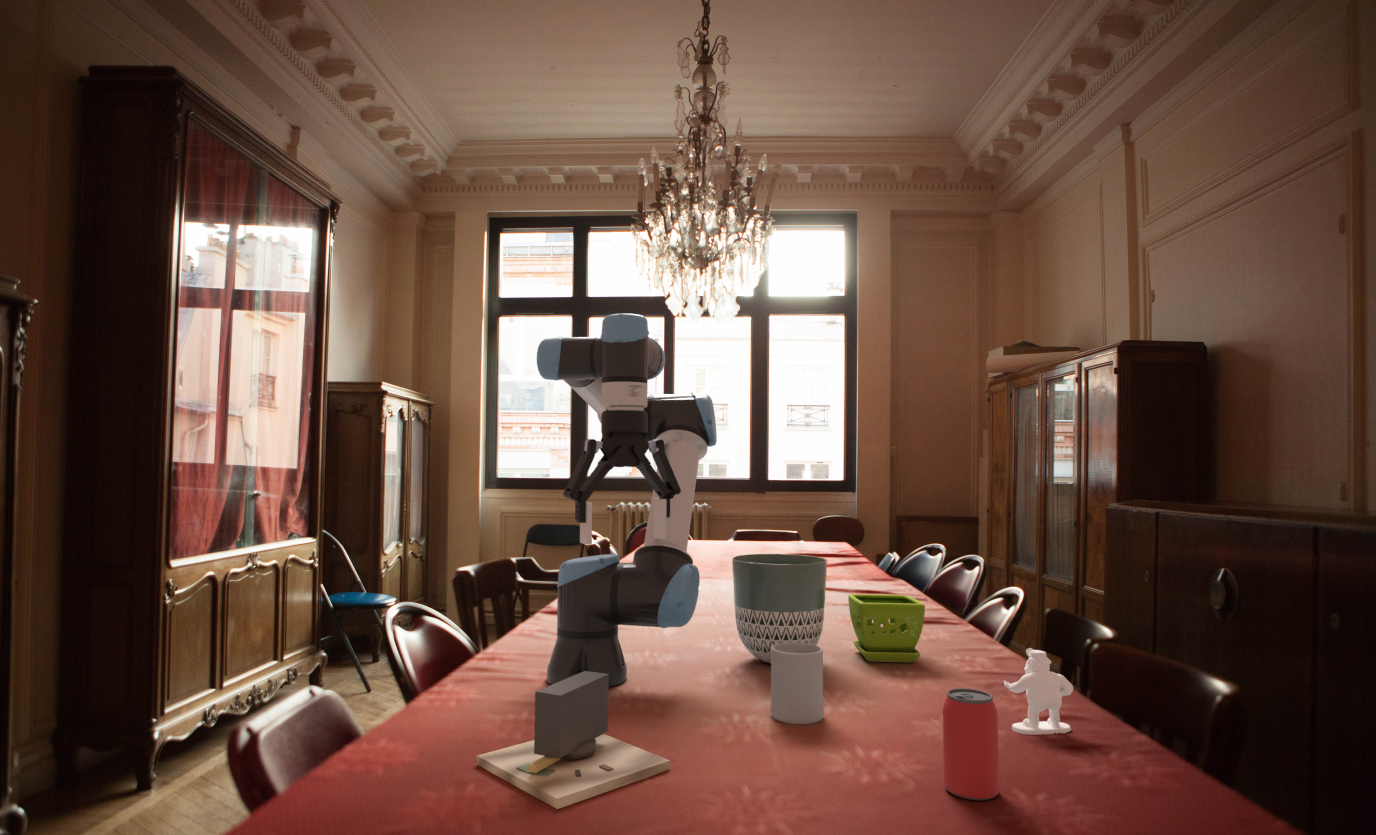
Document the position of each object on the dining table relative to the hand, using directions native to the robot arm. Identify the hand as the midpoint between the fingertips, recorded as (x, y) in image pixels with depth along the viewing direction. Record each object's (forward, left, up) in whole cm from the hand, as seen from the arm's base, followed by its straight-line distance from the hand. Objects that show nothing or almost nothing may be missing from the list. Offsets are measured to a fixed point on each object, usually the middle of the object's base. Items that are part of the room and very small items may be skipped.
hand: (624, 541), depth 127 cm
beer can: (+51, +15, -29) cm, 60 cm away
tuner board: (+11, -17, -29) cm, 35 cm away
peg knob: (+10, -17, -27) cm, 34 cm away
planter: (-8, +49, -29) cm, 57 cm away
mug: (+16, +24, -29) cm, 41 cm away
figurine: (+47, +46, -29) cm, 72 cm away
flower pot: (+5, +69, -29) cm, 75 cm away
